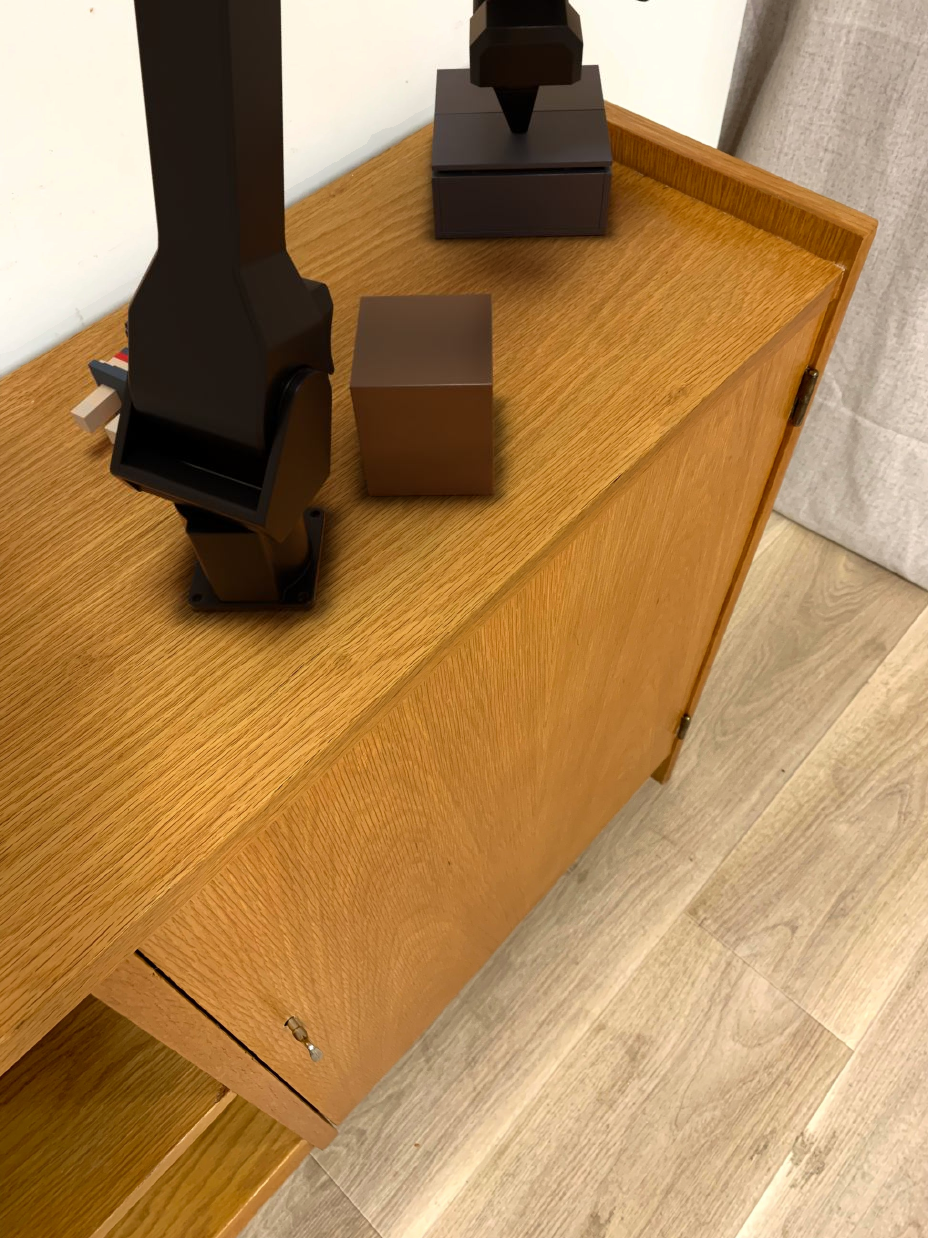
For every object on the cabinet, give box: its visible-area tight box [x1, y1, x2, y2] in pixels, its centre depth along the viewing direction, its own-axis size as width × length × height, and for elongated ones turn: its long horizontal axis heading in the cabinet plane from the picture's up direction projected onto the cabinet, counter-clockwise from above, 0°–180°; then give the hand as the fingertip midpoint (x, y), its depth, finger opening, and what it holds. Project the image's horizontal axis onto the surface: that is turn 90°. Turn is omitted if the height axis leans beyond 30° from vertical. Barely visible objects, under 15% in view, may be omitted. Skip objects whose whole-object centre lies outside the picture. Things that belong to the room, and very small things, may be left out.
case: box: [430, 64, 613, 239], centre depth 64 cm, size 13×12×5 cm
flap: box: [430, 109, 613, 172], centre depth 60 cm, size 6×12×1 cm, turn 89°
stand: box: [348, 293, 495, 497], centre depth 48 cm, size 7×7×8 cm
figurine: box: [70, 317, 128, 445], centre depth 54 cm, size 9×4×15 cm
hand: (519, 130), depth 60 cm, fingers closed
